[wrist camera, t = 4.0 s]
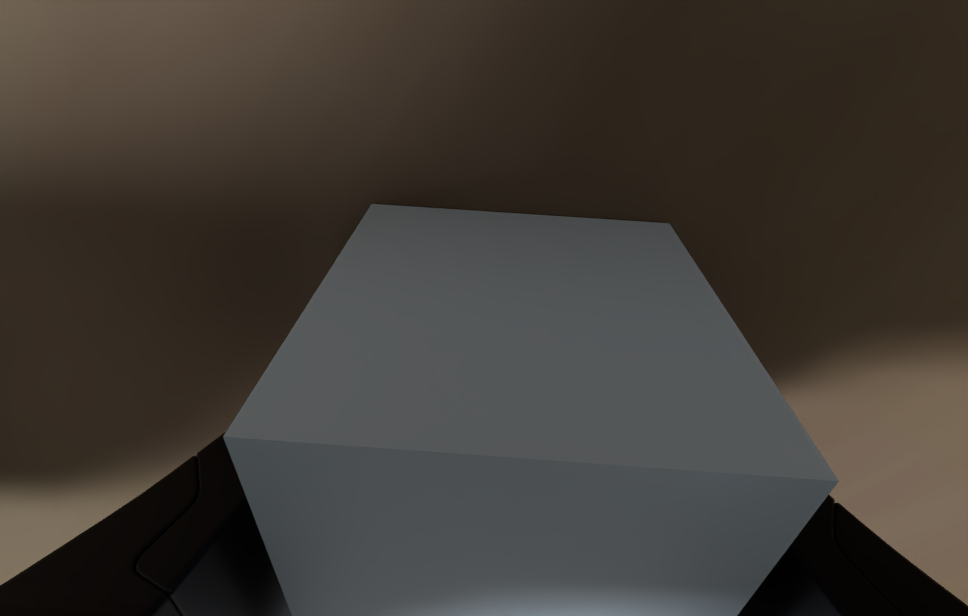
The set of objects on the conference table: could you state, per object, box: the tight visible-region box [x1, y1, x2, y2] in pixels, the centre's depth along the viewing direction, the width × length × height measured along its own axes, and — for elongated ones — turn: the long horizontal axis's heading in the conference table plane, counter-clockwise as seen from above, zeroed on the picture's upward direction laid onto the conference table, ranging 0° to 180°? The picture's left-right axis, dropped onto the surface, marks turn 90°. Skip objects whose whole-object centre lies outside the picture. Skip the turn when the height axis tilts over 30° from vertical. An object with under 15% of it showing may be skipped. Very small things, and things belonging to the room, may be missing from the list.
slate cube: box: [223, 204, 838, 616], centre depth 8 cm, size 6×6×6 cm
